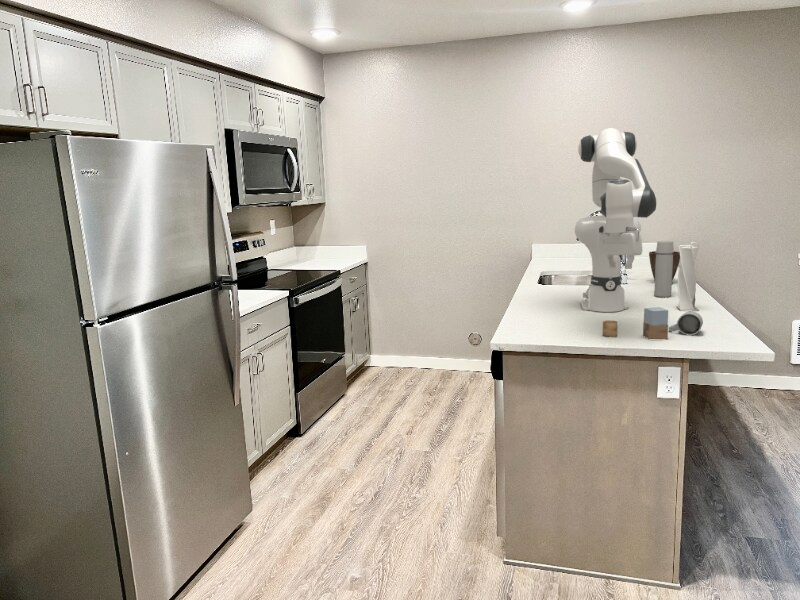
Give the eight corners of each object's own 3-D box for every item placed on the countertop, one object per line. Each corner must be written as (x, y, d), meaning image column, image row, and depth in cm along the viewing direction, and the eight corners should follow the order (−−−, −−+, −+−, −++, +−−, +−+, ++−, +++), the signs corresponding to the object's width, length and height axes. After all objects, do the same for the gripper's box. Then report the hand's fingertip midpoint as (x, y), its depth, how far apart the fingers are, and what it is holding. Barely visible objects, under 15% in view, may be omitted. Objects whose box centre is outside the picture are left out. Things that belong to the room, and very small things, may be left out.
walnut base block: (642, 335, 207) (643, 321, 206) (660, 335, 207) (660, 321, 206) (649, 340, 201) (650, 325, 200) (667, 339, 201) (668, 325, 200)
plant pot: (656, 280, 316) (658, 250, 313) (685, 283, 305) (686, 251, 302) (642, 284, 307) (643, 253, 304) (670, 287, 295) (672, 254, 292)
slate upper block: (643, 322, 205) (644, 308, 205) (658, 321, 206) (659, 307, 205) (652, 325, 200) (652, 311, 199) (667, 324, 201) (668, 310, 200)
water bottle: (674, 297, 269) (677, 242, 264) (657, 298, 269) (659, 242, 265) (666, 294, 278) (668, 240, 273) (649, 294, 278) (651, 241, 274)
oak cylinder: (600, 334, 211) (601, 320, 210) (614, 334, 211) (614, 320, 210) (605, 337, 206) (605, 323, 205) (619, 337, 206) (619, 323, 205)
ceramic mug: (703, 331, 210) (703, 309, 208) (701, 336, 203) (701, 314, 202) (670, 329, 215) (670, 308, 214) (667, 334, 208) (667, 312, 207)
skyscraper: (700, 311, 239) (704, 242, 234) (678, 311, 241) (681, 242, 236) (694, 307, 247) (697, 240, 242) (673, 307, 249) (676, 240, 244)
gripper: (647, 226, 194) (647, 269, 196) (610, 227, 214) (611, 266, 215) (630, 227, 192) (630, 270, 194) (594, 228, 212) (595, 267, 214)
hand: (620, 268), depth 205 cm, fingers open, 8 cm apart
